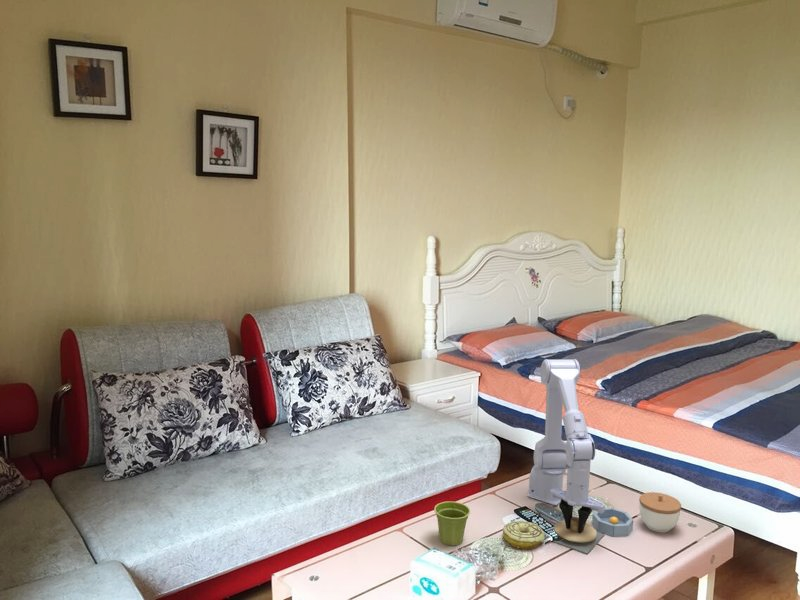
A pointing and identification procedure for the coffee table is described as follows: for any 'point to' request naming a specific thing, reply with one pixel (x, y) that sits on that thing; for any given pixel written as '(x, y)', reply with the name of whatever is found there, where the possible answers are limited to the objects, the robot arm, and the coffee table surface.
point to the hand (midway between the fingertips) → (574, 529)
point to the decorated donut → (523, 534)
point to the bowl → (613, 522)
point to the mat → (581, 544)
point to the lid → (574, 531)
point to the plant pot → (451, 521)
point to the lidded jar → (659, 511)
